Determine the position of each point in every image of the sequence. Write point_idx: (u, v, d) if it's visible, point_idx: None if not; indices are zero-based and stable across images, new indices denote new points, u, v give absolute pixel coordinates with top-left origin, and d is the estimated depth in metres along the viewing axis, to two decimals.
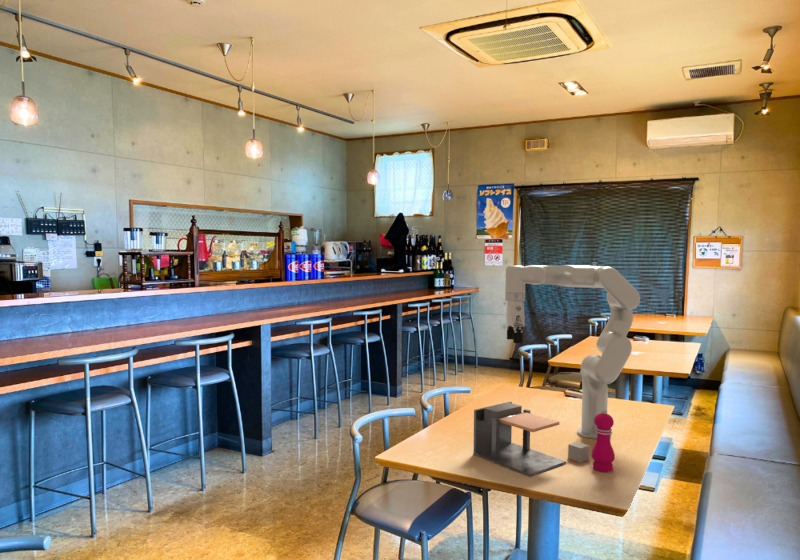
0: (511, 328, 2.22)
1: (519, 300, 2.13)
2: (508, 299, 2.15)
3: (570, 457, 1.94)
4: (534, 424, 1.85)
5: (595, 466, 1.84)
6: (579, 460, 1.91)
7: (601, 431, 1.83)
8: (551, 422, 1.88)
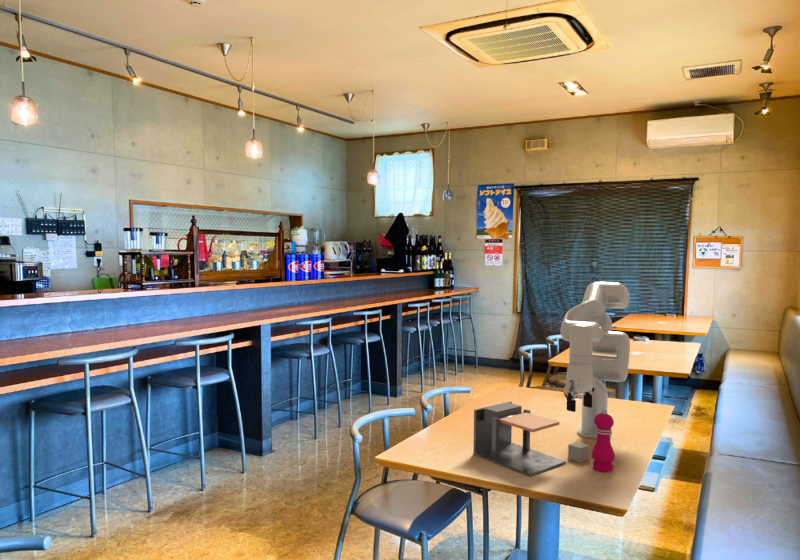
0: None
1: None
2: (591, 362, 1.92)
3: (570, 457, 1.94)
4: (534, 424, 1.85)
5: (595, 466, 1.84)
6: (579, 460, 1.91)
7: (601, 431, 1.83)
8: (551, 422, 1.88)
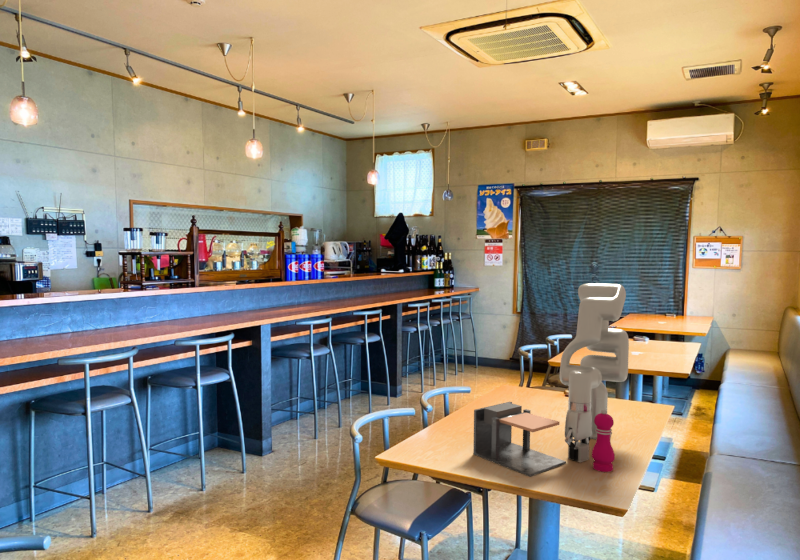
0: None
1: None
2: (590, 409, 1.93)
3: None
4: (534, 424, 1.85)
5: (595, 466, 1.84)
6: (579, 460, 1.91)
7: (601, 431, 1.83)
8: (551, 422, 1.88)
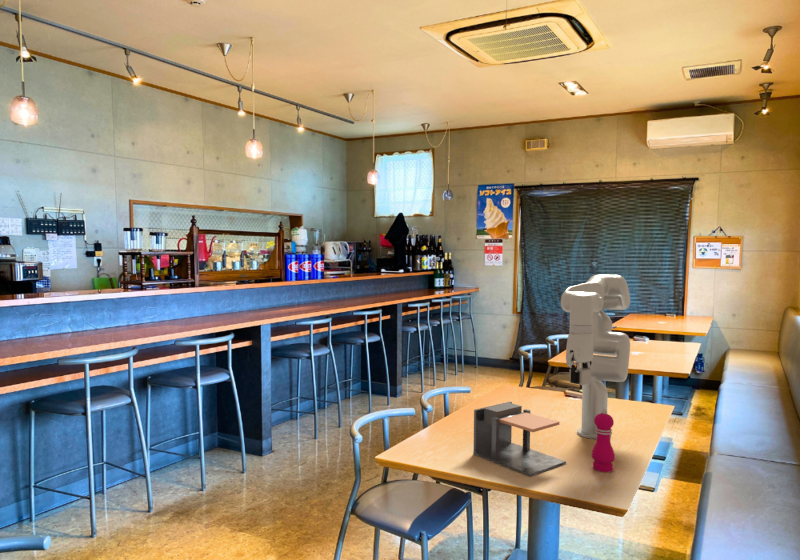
0: None
1: None
2: None
3: None
4: (534, 424, 1.85)
5: (595, 466, 1.84)
6: (581, 383, 1.90)
7: (601, 431, 1.83)
8: (551, 422, 1.88)
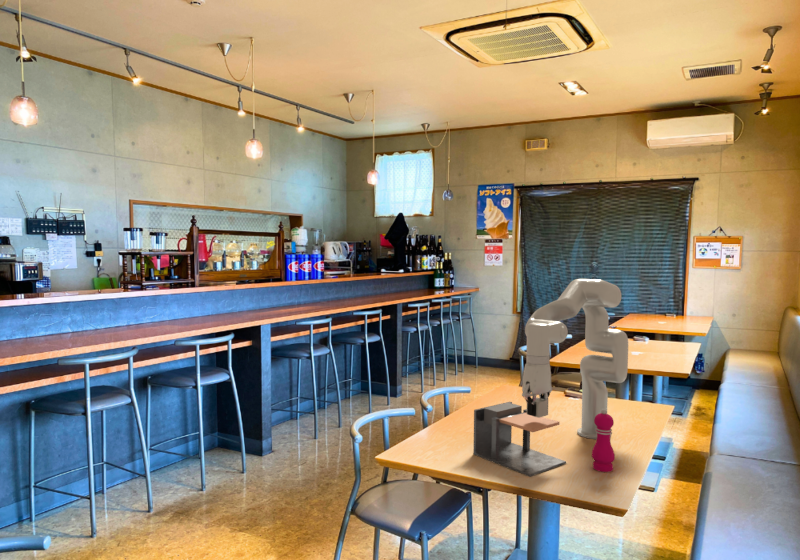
0: None
1: None
2: (549, 362, 1.86)
3: None
4: (534, 424, 1.85)
5: (595, 466, 1.84)
6: (537, 415, 1.84)
7: (601, 431, 1.83)
8: (551, 422, 1.88)
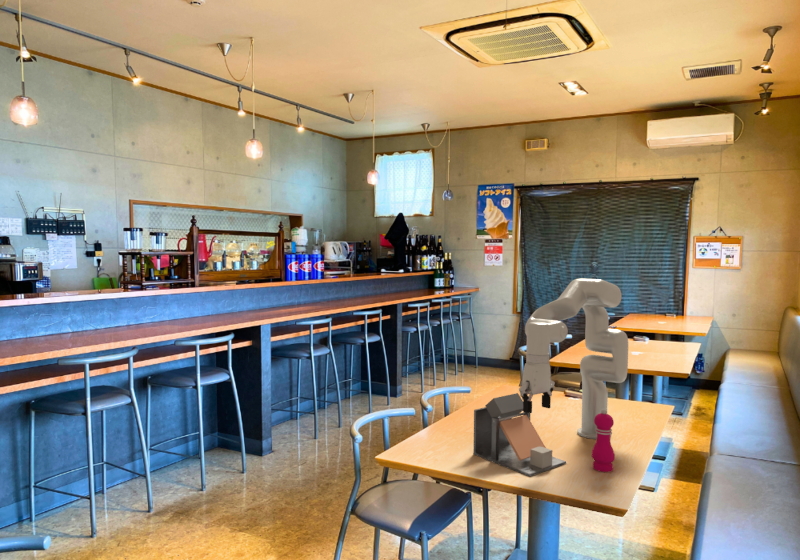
0: None
1: None
2: None
3: (532, 452, 1.86)
4: (525, 447, 1.88)
5: (595, 466, 1.84)
6: (531, 463, 1.87)
7: (601, 431, 1.83)
8: None
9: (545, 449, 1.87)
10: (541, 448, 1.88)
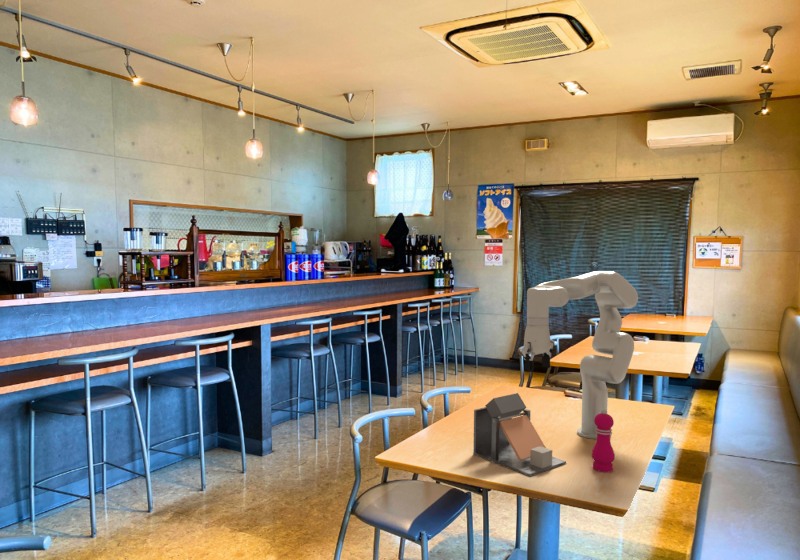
0: None
1: None
2: (548, 324, 1.99)
3: (532, 452, 1.86)
4: (525, 447, 1.88)
5: (595, 466, 1.84)
6: (531, 463, 1.87)
7: (601, 431, 1.83)
8: None
9: (545, 449, 1.87)
10: (541, 448, 1.88)
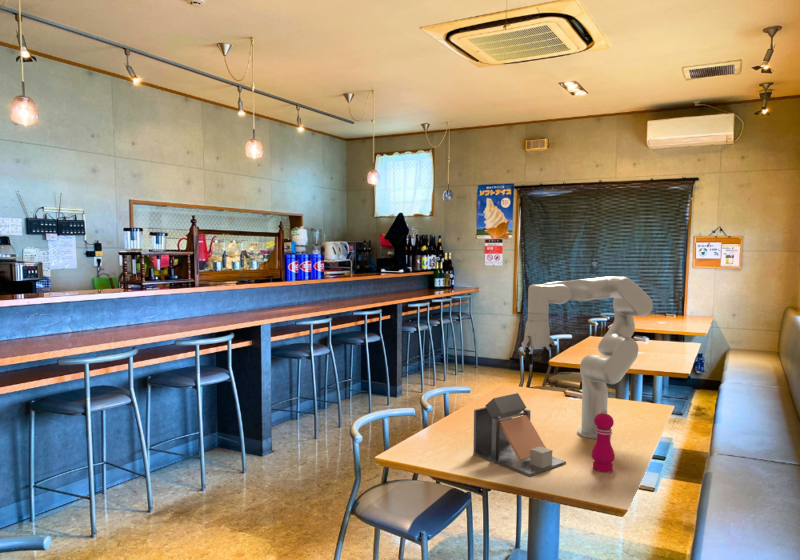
0: None
1: None
2: None
3: (532, 452, 1.86)
4: (525, 447, 1.88)
5: (595, 466, 1.84)
6: (531, 463, 1.87)
7: (601, 431, 1.83)
8: None
9: (545, 449, 1.87)
10: (541, 448, 1.88)
